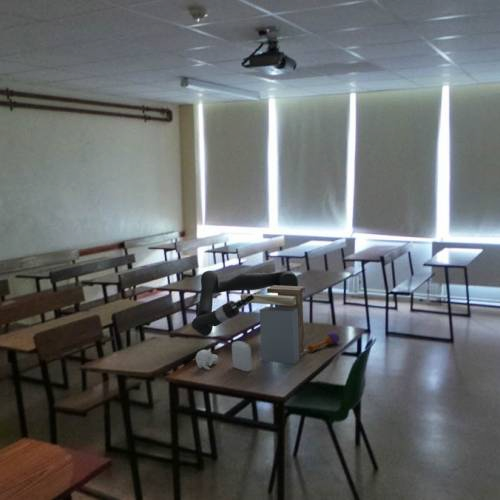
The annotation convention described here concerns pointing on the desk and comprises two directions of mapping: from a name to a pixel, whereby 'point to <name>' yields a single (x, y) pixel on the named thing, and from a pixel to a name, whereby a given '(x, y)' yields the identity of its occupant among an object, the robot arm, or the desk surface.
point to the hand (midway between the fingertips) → (254, 295)
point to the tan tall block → (299, 304)
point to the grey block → (279, 334)
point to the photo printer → (241, 356)
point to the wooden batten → (271, 299)
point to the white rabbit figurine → (206, 359)
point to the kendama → (325, 341)
